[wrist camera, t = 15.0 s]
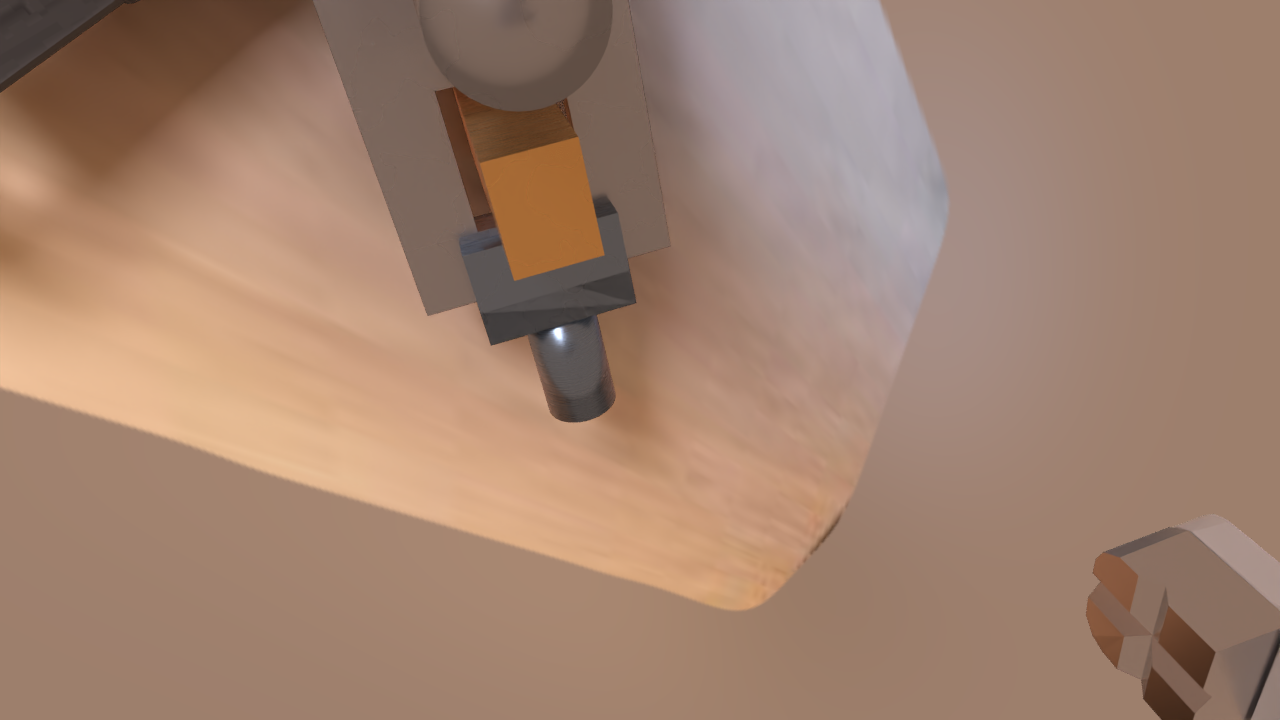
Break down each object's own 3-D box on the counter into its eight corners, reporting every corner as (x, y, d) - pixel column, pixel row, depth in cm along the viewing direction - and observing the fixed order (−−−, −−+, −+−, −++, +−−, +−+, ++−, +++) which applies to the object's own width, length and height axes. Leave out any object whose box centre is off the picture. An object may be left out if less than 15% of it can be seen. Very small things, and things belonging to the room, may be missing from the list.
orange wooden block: (445, 64, 36) (479, 163, 26) (517, 46, 36) (578, 136, 26) (472, 157, 38) (514, 281, 28) (540, 139, 38) (604, 255, 28)
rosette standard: (267, -174, 30) (184, -153, 15) (550, -234, 31) (722, -267, 17) (460, 369, 43) (514, 663, 28) (655, 311, 44) (804, 564, 30)
